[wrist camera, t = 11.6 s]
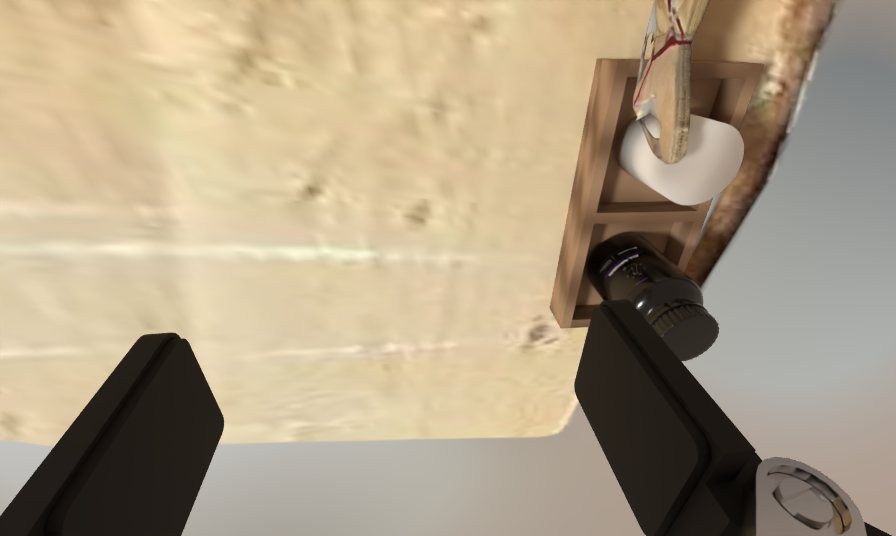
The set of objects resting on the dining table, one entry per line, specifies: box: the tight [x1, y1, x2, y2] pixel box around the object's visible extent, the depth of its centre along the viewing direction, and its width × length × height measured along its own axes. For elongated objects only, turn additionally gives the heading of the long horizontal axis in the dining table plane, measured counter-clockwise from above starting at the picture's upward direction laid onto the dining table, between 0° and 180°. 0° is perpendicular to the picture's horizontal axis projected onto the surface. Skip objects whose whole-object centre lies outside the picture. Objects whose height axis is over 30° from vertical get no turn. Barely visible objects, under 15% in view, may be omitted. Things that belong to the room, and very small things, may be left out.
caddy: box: [550, 59, 764, 328], centre depth 37 cm, size 24×12×4 cm, turn 179°
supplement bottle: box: [587, 233, 719, 361], centre depth 35 cm, size 7×7×12 cm
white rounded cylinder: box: [616, 113, 744, 205], centre depth 31 cm, size 6×6×7 cm
